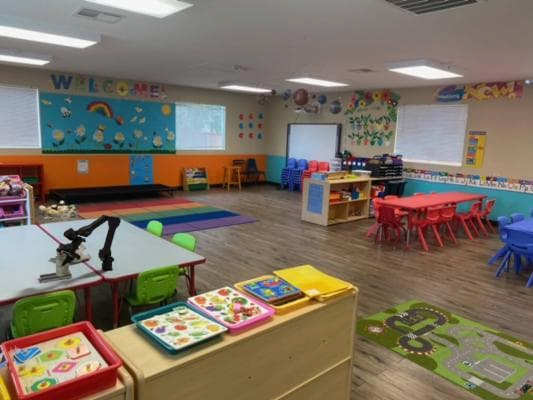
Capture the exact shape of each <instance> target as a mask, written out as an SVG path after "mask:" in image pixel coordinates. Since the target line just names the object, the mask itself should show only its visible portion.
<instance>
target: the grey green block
mask: <svg viewBox="0 0 533 400" xmlns="http://www.w3.org/2000/svg"><path fill="white" fill-rule="evenodd" d="M65 259H66V255H65V254H63V255H59V256H57V255H55V273H56V275H58V276H63V275H66V274H69V270H70V269H69V268H70V267H69V263H67V264H66V265H64V266H62V263H63V262H64V260H65Z"/></svg>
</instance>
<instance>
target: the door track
mask: <svg viewBox="0 0 533 400" xmlns="http://www.w3.org/2000/svg"><path fill="white" fill-rule="evenodd" d="M67 278H68V279H72V278H73V275H72V272H71V271H70V269H69V274H66V275H63V276H58V275H56V272H52V273H51V272H50V273H43V274H40V275H39V279H40V281H41V283H42V284H44V283H49V282H50V283H51V282H54V281H61V280H62V281H63V280H66V279H67Z"/></svg>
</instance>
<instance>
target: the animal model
mask: <svg viewBox="0 0 533 400" xmlns="http://www.w3.org/2000/svg"><path fill="white" fill-rule="evenodd" d="M86 249H87V247H86V245H84V244H83V243H81V245H80V246H79V250H76V253H77V254H79V255H80V256H81V258H80V260H77V259H76V258H75V260H73V261H71V262H70V263H73V264H75V263H81V262H84V261H85V260H89V259H90V260H91V259H92V254H90V253H87V255H84V253H83V251H85V250H86ZM59 255H60V254H59V252H57V251H56V256H59Z"/></svg>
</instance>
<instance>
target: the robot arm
mask: <svg viewBox="0 0 533 400" xmlns="http://www.w3.org/2000/svg"><path fill="white" fill-rule="evenodd" d="M121 221H122V219H121V217H119V216H116V215H107V214H102V215H101V216H100V217H98V218H97V219H95V220H94V221H92V222H91V223H89V224H88V225H84V226H81V227H80V228H78V229H76V230H74V228H72V227H69V228H68V229H66V230H65V231H64V232H63V237H65V239H67V240H68V241H70V242H67V243H62V242H60V243H59V245H58V247H57V248H56V250H55V252H56V253H57V252H59V254H60V255H63V254H65V255H66V259H65V260H64V262H63V263H62V266H64V265H66V264H67V263H68V264H69V263H72V262H71V261H73V260H75V258H76V259H77V260H80V258H81V256H80V255H79V254H77V253H76V250H79V248H80V246H81V244H83V243H86V242H87V240H86V238H88V237H90V236H91V235H92V234H93V232H94V230H96V229H97V228H99V227H100V226H102V225H103V224H105V223H106V222H107V226H108V229H107V232H106V237H105V239H104V244H103V247H102V248H99V250H98V253H97V256H98V257H97V258H98V259H99V260H100V262H101V270H102V271H103V272H108V271H113V263H114V262H115V258H114V257H113V256H112V250H111V249H112V246H113V245H112V244H113V241H114V237H115V235H116V230H117V229H118V228H119V227H120V224H121Z"/></svg>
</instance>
